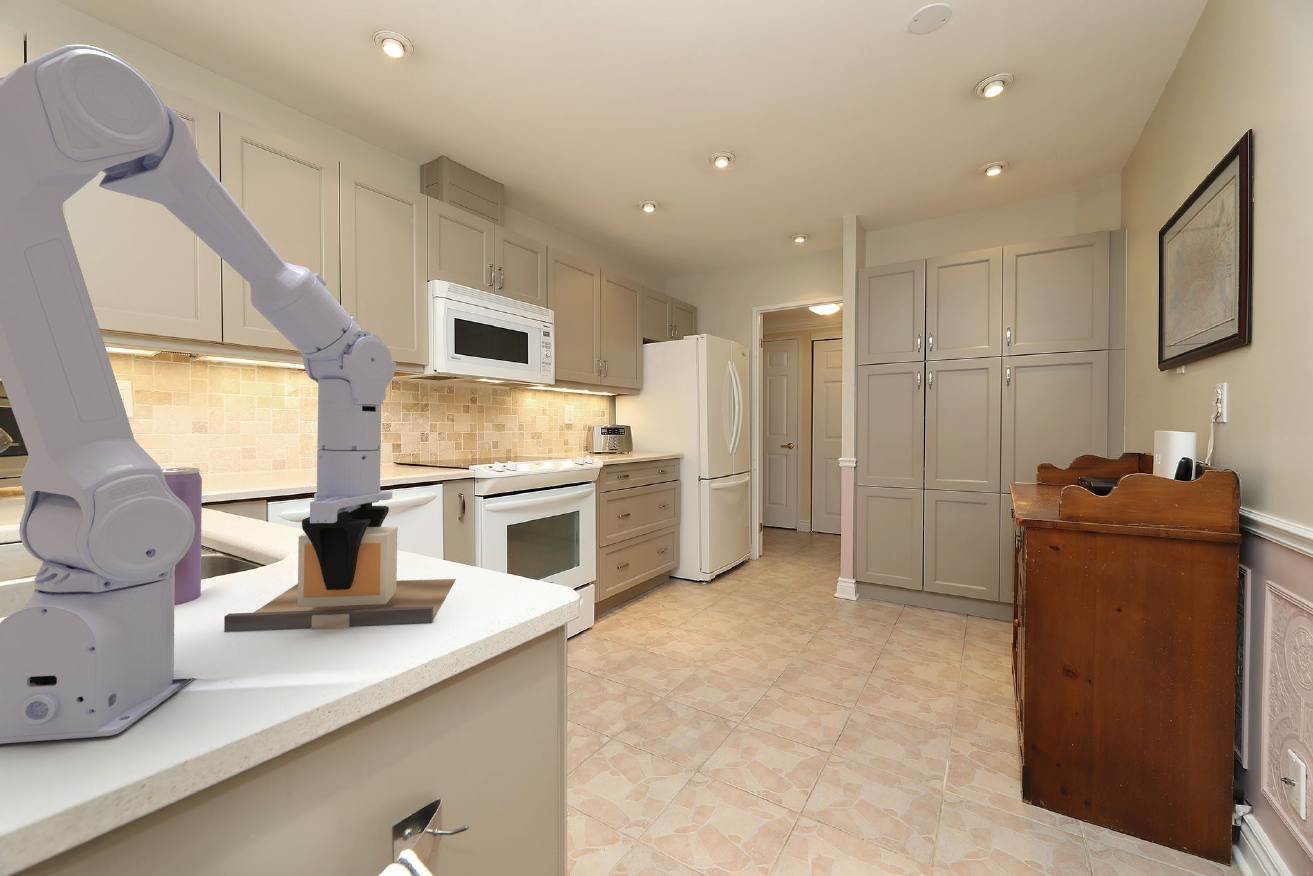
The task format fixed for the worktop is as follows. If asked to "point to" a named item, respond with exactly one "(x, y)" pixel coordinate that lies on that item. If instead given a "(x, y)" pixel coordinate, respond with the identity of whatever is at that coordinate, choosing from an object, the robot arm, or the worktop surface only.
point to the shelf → (347, 610)
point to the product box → (370, 576)
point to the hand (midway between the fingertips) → (347, 581)
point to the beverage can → (189, 567)
